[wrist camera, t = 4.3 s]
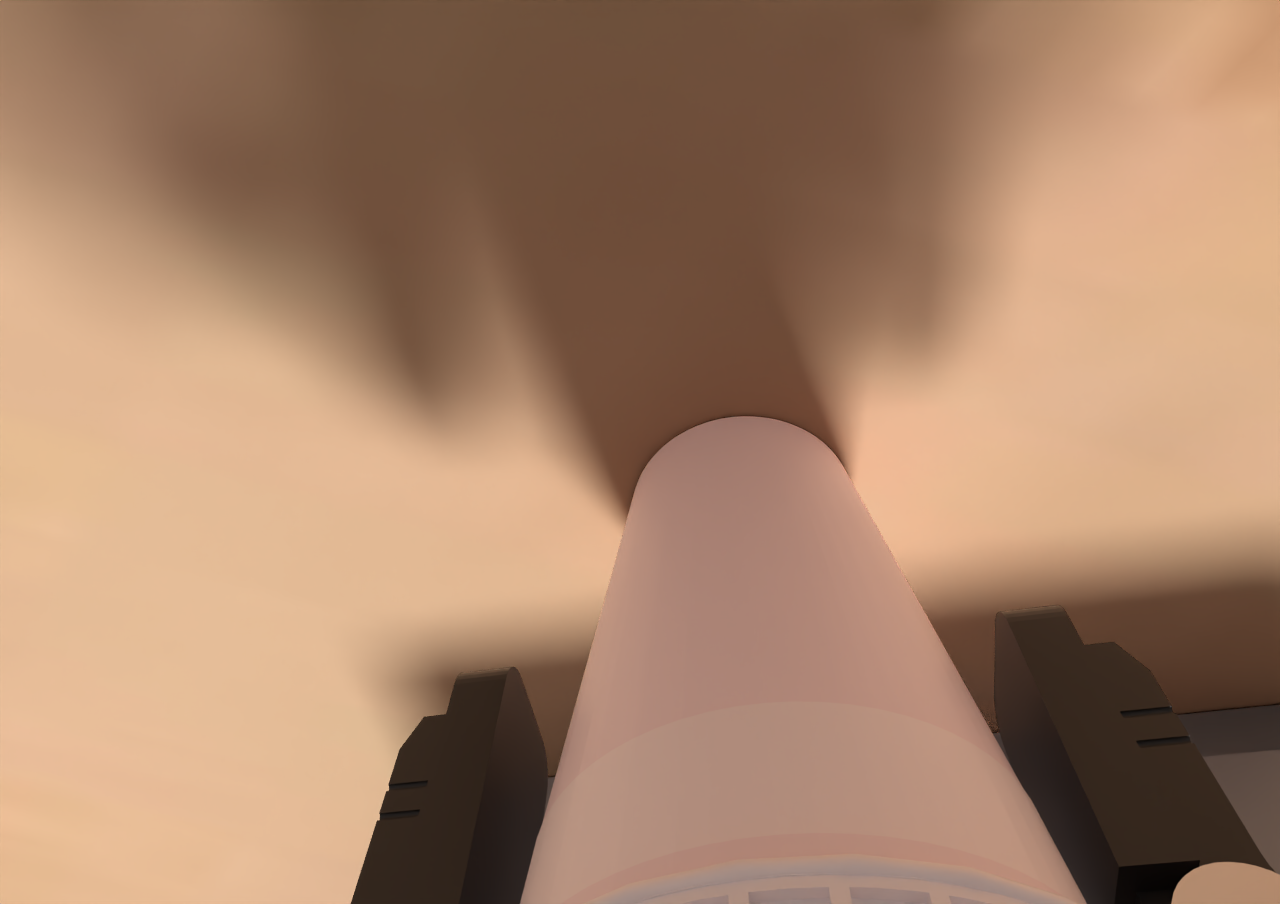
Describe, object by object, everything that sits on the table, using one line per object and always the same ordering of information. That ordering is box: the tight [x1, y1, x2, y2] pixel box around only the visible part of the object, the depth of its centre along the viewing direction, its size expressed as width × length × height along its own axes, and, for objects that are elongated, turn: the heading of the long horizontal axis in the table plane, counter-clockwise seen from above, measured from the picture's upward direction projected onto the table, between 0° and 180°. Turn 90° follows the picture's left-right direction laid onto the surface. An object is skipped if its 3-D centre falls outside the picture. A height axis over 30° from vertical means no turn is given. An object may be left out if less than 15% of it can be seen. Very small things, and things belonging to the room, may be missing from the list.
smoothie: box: [520, 416, 1087, 904], centre depth 10 cm, size 6×6×14 cm
